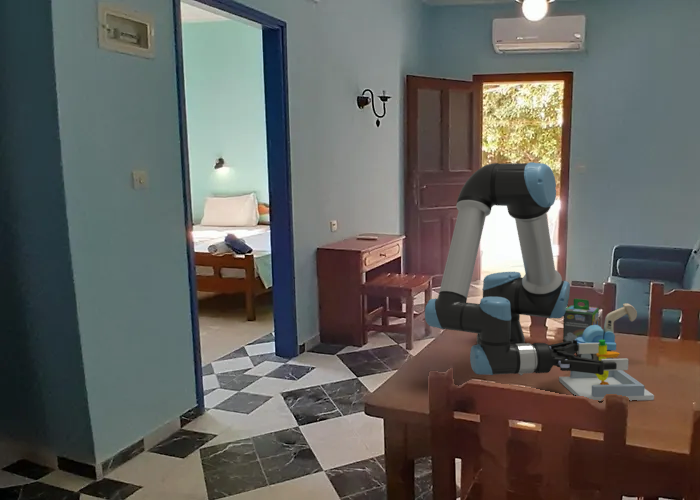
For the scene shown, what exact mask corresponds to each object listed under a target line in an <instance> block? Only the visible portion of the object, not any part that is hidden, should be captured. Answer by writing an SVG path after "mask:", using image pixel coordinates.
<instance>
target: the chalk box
mask: <svg viewBox="0 0 700 500" xmlns="http://www.w3.org/2000/svg"><path fill="white" fill-rule="evenodd" d="M579 303H583V304H584V305H579ZM599 312H600V309H599V307H597V306H590V302H589V300H588V299H585V298H584V299H583V298H574V299H573V305H570V306H567V309H566V312H565V314H564V316H563V317H562V318H563V324H562V325H563V326H562V327H563V328H562V329H563V331H562V335H563V336H562V338H563V339H562V340H563V341H562V342H566V341H572V343H573V340H575V339H577V338H578V337H582V335H583V332H584V330H585V329H586V328H587V327H589V326H591V325H599V322H600V321H599V319H600V318H599V317H600V314H599ZM599 326H600V325H599Z"/></svg>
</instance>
